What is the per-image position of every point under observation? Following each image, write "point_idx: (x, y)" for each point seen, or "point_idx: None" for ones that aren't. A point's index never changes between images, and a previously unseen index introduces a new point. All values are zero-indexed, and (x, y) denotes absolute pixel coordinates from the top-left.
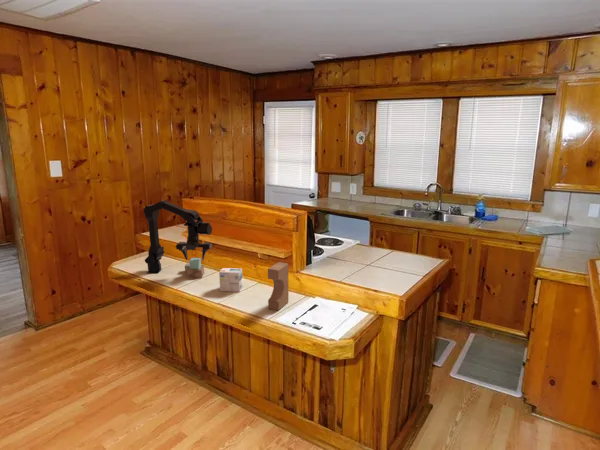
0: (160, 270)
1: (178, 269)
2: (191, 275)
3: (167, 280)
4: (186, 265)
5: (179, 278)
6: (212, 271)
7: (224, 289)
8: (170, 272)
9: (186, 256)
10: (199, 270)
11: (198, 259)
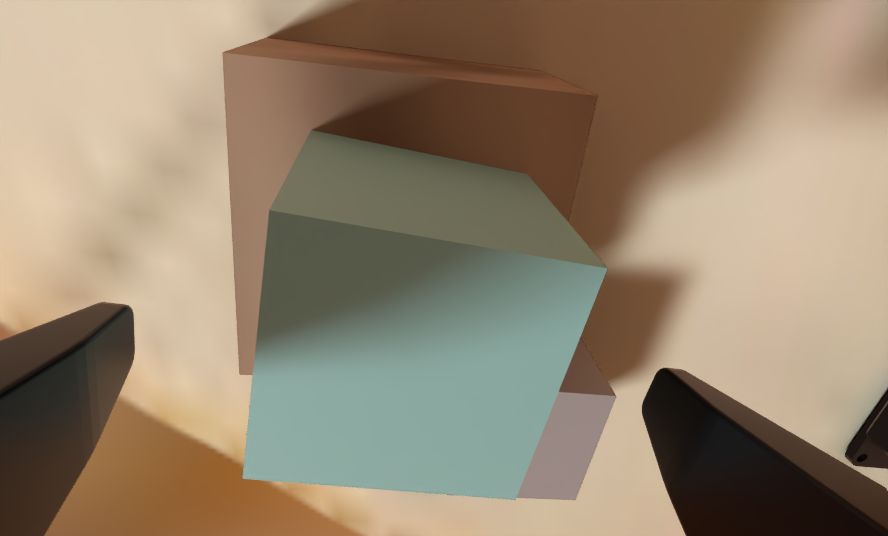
0: (869, 420)
1: (649, 445)
2: (473, 67)
3: (873, 29)
4: (583, 409)
5: (672, 94)
6: (139, 338)
7: None
8: (761, 359)
9: (743, 458)
10: (280, 59)
11: (288, 357)
